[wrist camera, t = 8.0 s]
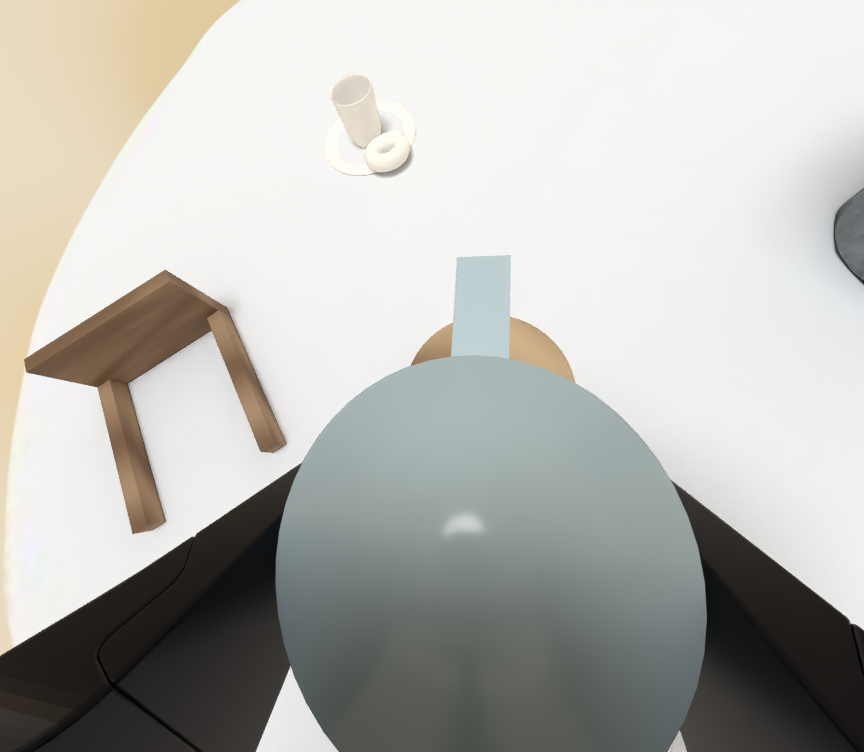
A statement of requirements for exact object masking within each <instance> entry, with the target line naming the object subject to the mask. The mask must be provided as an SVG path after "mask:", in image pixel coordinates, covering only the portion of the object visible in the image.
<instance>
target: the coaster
mask: <svg viewBox="0 0 864 752" xmlns="http://www.w3.org/2000/svg"><path fill="white" fill-rule="evenodd" d="M452 334H453V323H451V324H449V325H447V326H446V327H444V328H442V329H441V330H439V331H438V332H437V333H435V334H434V335H433V336H432V337H431V338H430V339H429V340H428V341H427V342H426V343H425V344H424V345H423V346H422V348H421V349H420V350H419V352H418V353H417V355H416V356H415V358H414V360H413V362H412V364H411V366H412V365H416V364H419V363H422V362H426V361H429V360H434V359H440V358H446V357H451V350H452ZM509 359H512V360H517V361H522V362H526V363H529V364H532V365H535V366H538V367H541V368H544V369H547V370H549V371H551V372H554V373H556V374H558V375H560V376H562V377H564V378H566V379H568V380H571V381H573V382H574V383H575V380H574V376H573V373H572V370H571V368H570V365H569V363H568V361H567V359H566V358H565V356H564V354H563V353H562V351H561V350H560V349H559V347H558V346H557V345H556V344H555V343H554V342H553V341H552V340H551V339H550V338H549V337H548V336H547V335H546V334H545V333H543V332H542V331H540V330H539V329H538V328H536V327H534V326H532V325H530V324H529V323H526V322H524V321H521V320H519V319H516V318H512V317H510V334H509Z"/></svg>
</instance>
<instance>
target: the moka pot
mask: <svg viewBox="0 0 864 752" xmlns="http://www.w3.org/2000/svg"><path fill="white" fill-rule="evenodd" d="M834 236H835V240H836V244H837V248H838V251H839V253H840V255H841V257H842V258H843V260H844V261H845V262H846V264H847V265H848V267H849V268H850V270H852V271H853V272H854V273H855V274H856V275H857V276H858V277H860V278H861V279H862V280H863V281H864V188H863V189H862V190H861V191H859V192H858V193H857V194H856V195H854V196H853V197H852V198H851V199H849V200H848V201H847V202H846V203H844V204H843V206H842V207H841V208H840V210H839V212H838V216H837V219H836V223H835V235H834Z"/></svg>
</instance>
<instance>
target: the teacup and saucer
mask: <svg viewBox="0 0 864 752" xmlns="http://www.w3.org/2000/svg"><path fill="white" fill-rule="evenodd" d="M331 100H332V102H333V104H334V106H335V108H336V110H337V112H338V114H339V117H338V118H337V119H336V120H335V122H334V123H333V124H332V125H331V127H330V129H329V130H328V132H327V135H326V137H325V141H324V153H325V156H326V159H327V161H328V162H329V164H330V165H331V166H332V167H333V168H335V169H336V170H338V171H339V172H342V173H344V174H348V175H355V176H362V175H370V174H374V173H377V172H388V171H391V170H394V169H396V168H398V167H399V166H400V165H402V164H403V163H404V162H405V161H406V159H407V157H408V155H409V152H410V147H411V145H412V143H413V141H414V138H415V135H416V122H415V119H414V117H413V115H412V113H411V112H410V111H409V110H408V109H407V108H406V107H405V106H403V105H402V104H400V103H397V102H394V101H390V100H376V99H375V95H374V91H373V87H372V84H371V81H370V79H369V78H368V77H367V76H365V75H362V74H351V75H348V76H345V77H343V78H341V79H340V80H339V81H338V82H337V83H336V84H335V85H334V86H333V88H332V90H331ZM378 111H386V112H390V113H392V114H394V115H395V116H397V117H398V118H399V119H400V121H401V122H402V125H403V134H402V133H400V132H387V133H384V134H382V135H381V123H380V117H379V112H378ZM344 126H345V128H346V130H347V132H348V134H349V135H350V137H351V138H352V140H353V141H354V142H355V143H356V144H357V145H358V146H360V147H362V148H366V150H365V154H364V158H365V162H366V164H367V165H354V164H351V163H348V162H346V161H345V160H343V159H342V158H341V157H340V155H339V153H338V151H337V139H338V136H339V133H340V132H341V130H342V129H343V127H344ZM388 151H389V152H388Z"/></svg>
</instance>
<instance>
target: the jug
mask: <svg viewBox="0 0 864 752" xmlns="http://www.w3.org/2000/svg"><path fill="white" fill-rule="evenodd" d="M510 260H511V255H506V256H480V257H457V269H456V285H455V301H454V318H453V334H452V350H451V357H446V358H440V359H434V360H429V361H426V362H422V363H419V364H416V365H412V366H409V367H406V368H404V369H402V370H400V371H397V372H395V373H393V374H391V375H388V376H386V377H385V378H383V379H381V380H380V381H378V382H376V383H375V384H373V385H371V386H370V387H368V388H367V389H365V390H364V391H363V392H361V393H360V394H359V395H358V396H356V397H355V398H354V399H352V400H351V401H350V402H349V403H348V404H347V405H346V406H345V407H344V408H343V409H342V410H341V411H340V412H339V413H338V414H337V415H336V416H335V417H334V418H333V419H332V420H331V421H330V422H329V424H328V425H327V426H326V427H325V429H324V430H323V431H322V432H321V434H320V435H319V436H318V437H317V439H316V441H315V442H314V444H313V445H312V447H311V449H310V450H309V452H308V453H307V455H306V456H305V458H304V460H303V462H302V465H301V467H300V469H299V471H298V473H297V475H296V477H295V479H294V482H293V484H292V487H291V490H290V493H289V496H288V498H287V501H286V504H285V508H284V513H283V517H282V521H281V525H280V530H279V537H278V545H277V553H276V597H277V608H278V617H279V622H280V627H281V632H282V636H283V641H284V646H285V649H286V652H287V655H288V658H289V661H290V665H291V668H292V671H293V674H294V676H295V679H296V681H297V683H298V685H299V688H300V690H301V692H302V694H303V696H304V699H305V701H306V703H307V705H308V707H309V708H310V710H311V712H312V713H313V715H314V717H315V718H316V720H317V722H318V723H319V725H320V727H321V728H322V730H323V732H324V733H325V734H326V736H327V737H328V738H329V739H330V741H331V742H332V743H333V745H334V746H335V747H336V748H337V750H338V751H339V752H667V751H668V749H669V747H670V746H671V744H672V742H673V740H674V739H675V737H676V735H677V733H678V732H679V730H680V728H681V726H682V725H683V723H684V721H685V718H686V715H687V713H688V710H689V708H690V705H691V702H692V700H693V697H694V694H695V692H696V689H697V685H698V680H699V676H700V671H701V666H702V662H703V657H704V651H705V637H706V624H707V611H706V594H705V581H704V576H703V570H702V565H701V560H700V555H699V549H698V546H697V543H696V540H695V537H694V533H693V530H692V527H691V524H690V521H689V518H688V515H687V513H686V511H685V509H684V506H683V504H682V502H681V500H680V498H679V496H678V493H677V491H676V489H675V487H674V485H673V483H672V482H671V480H670V479H669V477H668V475H667V474H666V472H665V470H664V469H663V467H662V465H661V464H660V462H659V460H658V459H657V458H656V456H655V455H654V454H653V452H652V451H651V450H650V449H649V447H648V446H647V445H646V444H645V442H644V441H643V440H642V438H641V437H640V436H639V435H638V434H637V433H636V432H635V431H634V430H633V429H632V428H631V427H630V425H629V424H628V423H627V422H626V421H625V420H624V419H623V418H622V417H621V416H620V415H619V414H618V413H616V412H615V411H614V410H613V409H611V408H610V407H609V406H608V405H606V404H605V403H604V402H603V401H601V400H600V399H599V398H598V397H596V396H595V395H593V394H592V393H590V392H589V391H587V390H585V389H584V388H582V387H581V386H579V385H577V384H576V383H574V382H573V381H571V380H568V379H566V378H564V377H562V376H560V375H558V374H556V373H554V372H551V371H549V370H547V369H544V368H541V367H538V366H535V365H532V364H529V363H526V362H522V361H517V360H512V359H509V334H510Z"/></svg>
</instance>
